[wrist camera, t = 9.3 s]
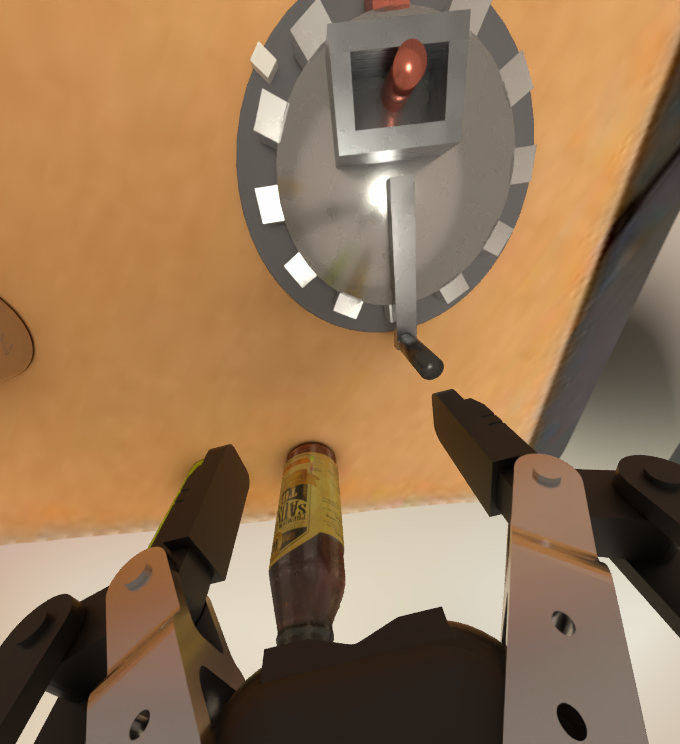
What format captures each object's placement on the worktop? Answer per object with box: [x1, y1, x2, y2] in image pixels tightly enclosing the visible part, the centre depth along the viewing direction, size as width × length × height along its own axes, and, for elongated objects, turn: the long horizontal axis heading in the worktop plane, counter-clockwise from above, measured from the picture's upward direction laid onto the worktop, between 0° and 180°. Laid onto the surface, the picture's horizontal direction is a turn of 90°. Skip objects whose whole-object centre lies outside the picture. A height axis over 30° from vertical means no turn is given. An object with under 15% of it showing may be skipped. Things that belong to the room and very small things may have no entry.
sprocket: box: [254, 0, 536, 380], centre depth 16 cm, size 19×21×8 cm
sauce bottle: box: [269, 443, 345, 646], centre depth 23 cm, size 6×6×20 cm
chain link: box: [325, 9, 471, 168], centre depth 15 cm, size 7×5×2 cm
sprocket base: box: [236, 0, 534, 332], centre depth 20 cm, size 22×22×2 cm
